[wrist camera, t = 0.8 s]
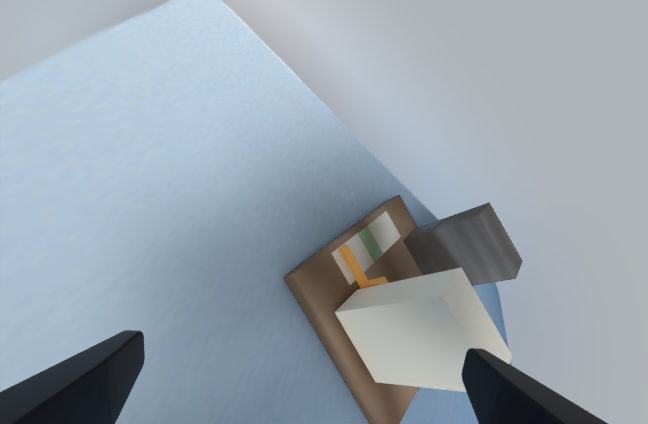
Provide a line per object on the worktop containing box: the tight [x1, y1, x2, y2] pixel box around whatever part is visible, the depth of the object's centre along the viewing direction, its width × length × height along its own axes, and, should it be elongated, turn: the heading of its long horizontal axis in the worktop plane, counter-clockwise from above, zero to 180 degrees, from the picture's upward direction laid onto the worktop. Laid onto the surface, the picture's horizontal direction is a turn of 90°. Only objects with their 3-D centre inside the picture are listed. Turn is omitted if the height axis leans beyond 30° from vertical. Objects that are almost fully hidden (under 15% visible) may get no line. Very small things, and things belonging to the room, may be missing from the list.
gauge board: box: [284, 195, 522, 424], centre depth 25 cm, size 16×14×10 cm
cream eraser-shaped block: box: [335, 267, 512, 392], centre depth 22 cm, size 7×6×9 cm
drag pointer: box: [338, 244, 388, 289], centre depth 24 cm, size 1×5×2 cm, turn 38°
